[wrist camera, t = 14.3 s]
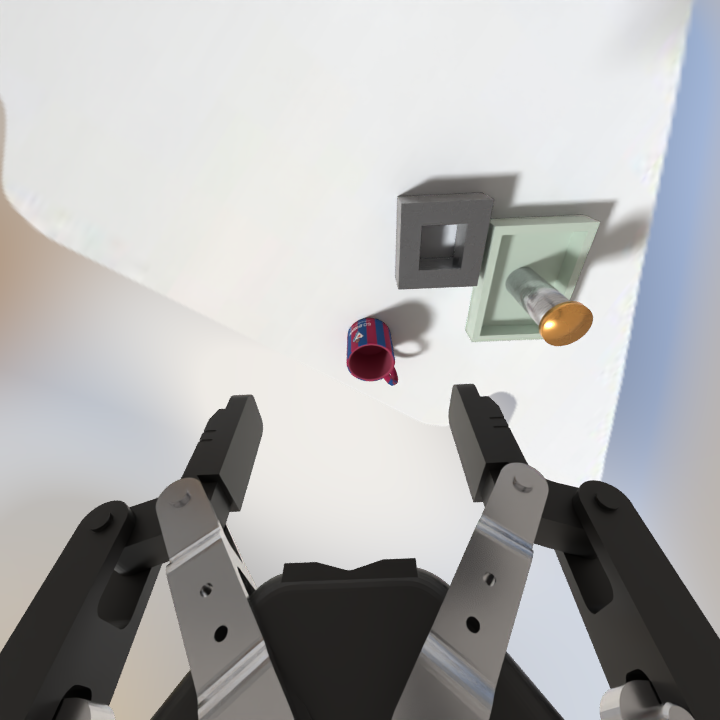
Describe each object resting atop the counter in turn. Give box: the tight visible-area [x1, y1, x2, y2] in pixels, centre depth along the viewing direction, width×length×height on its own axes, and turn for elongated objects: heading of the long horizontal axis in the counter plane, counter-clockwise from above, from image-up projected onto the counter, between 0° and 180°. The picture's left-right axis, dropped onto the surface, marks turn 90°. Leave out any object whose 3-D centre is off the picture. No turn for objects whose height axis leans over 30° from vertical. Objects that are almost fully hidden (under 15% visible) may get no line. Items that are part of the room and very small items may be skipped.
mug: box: [347, 318, 398, 386], centre depth 48 cm, size 7×10×7 cm
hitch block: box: [395, 193, 494, 289], centre depth 39 cm, size 10×10×4 cm
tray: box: [465, 215, 600, 342], centre depth 43 cm, size 16×12×3 cm
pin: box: [505, 267, 593, 346], centre depth 39 cm, size 5×5×12 cm
